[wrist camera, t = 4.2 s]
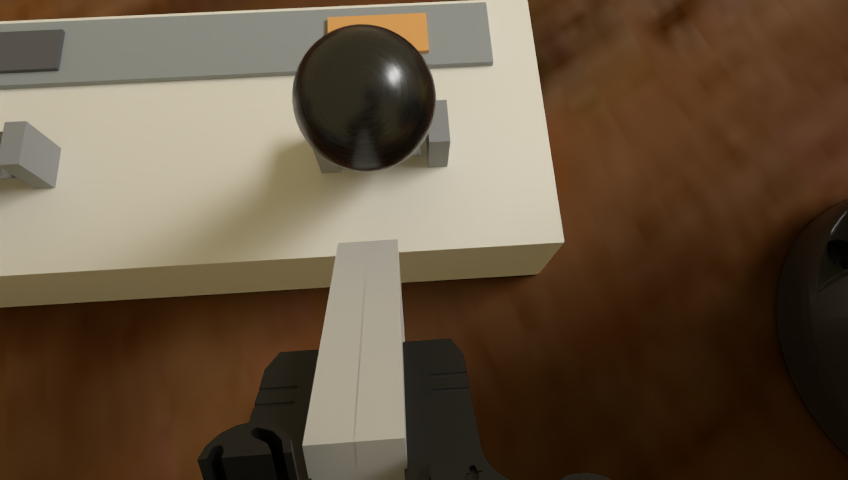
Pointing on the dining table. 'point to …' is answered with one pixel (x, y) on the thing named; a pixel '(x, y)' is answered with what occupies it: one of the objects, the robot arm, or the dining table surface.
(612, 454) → the dining table surface
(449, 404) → the robot arm
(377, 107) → the right lever
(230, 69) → the switch unit
